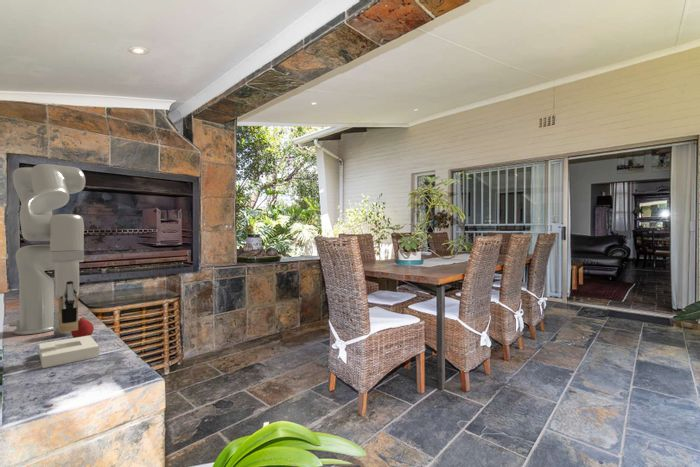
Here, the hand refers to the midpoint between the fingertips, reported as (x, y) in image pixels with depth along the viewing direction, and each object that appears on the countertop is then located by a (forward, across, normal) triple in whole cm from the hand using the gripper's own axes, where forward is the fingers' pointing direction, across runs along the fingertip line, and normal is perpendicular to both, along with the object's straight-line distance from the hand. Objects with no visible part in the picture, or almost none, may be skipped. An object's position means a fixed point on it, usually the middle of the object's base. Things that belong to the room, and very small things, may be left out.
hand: (68, 320), depth 100 cm
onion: (+10, -15, +5) cm, 18 cm away
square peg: (+3, 0, 0) cm, 3 cm away
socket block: (+10, 0, 0) cm, 10 cm away
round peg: (+10, -30, +2) cm, 32 cm away
